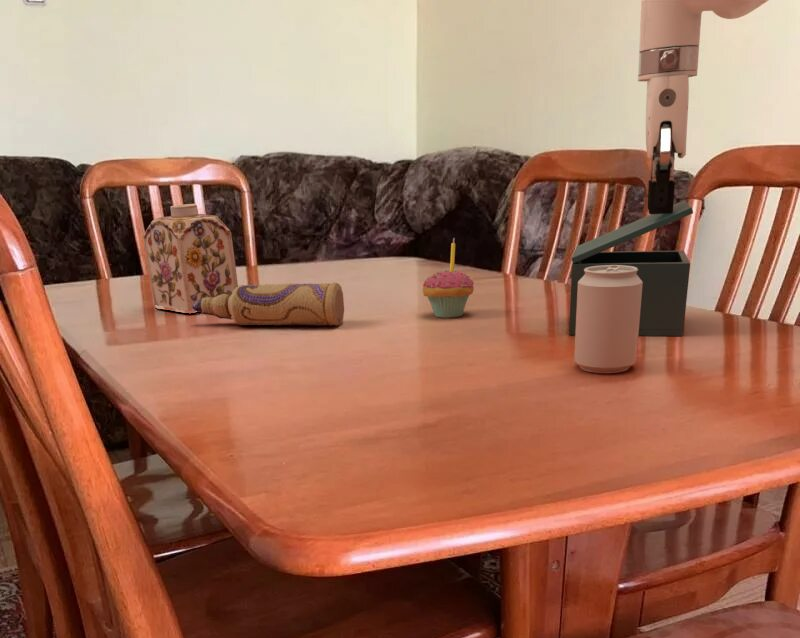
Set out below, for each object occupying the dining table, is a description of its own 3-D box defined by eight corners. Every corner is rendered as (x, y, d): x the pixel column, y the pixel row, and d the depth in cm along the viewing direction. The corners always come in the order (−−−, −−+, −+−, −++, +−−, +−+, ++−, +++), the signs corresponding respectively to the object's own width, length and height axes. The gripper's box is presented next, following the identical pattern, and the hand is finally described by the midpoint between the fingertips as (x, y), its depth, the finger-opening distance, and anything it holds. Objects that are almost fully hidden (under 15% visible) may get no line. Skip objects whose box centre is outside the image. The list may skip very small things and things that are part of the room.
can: (563, 370, 102) (568, 269, 97) (588, 357, 107) (593, 261, 102) (622, 377, 98) (630, 272, 93) (644, 363, 103) (653, 264, 98)
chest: (677, 317, 128) (684, 250, 124) (682, 336, 116) (690, 263, 112) (573, 316, 132) (576, 252, 128) (568, 335, 120) (571, 264, 116)
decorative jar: (242, 305, 155) (229, 202, 147) (190, 315, 147) (174, 207, 140) (204, 300, 162) (190, 201, 155) (152, 309, 155) (135, 206, 147)
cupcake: (438, 309, 143) (437, 236, 138) (483, 312, 139) (483, 236, 134) (414, 318, 136) (411, 241, 131) (460, 321, 132) (459, 243, 127)
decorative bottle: (348, 320, 137) (346, 279, 134) (334, 330, 130) (331, 287, 127) (206, 319, 143) (200, 279, 140) (186, 329, 136) (180, 287, 133)
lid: (686, 205, 121) (675, 169, 120) (693, 213, 109) (681, 173, 108) (577, 251, 128) (566, 218, 126) (573, 263, 116) (560, 226, 114)
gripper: (703, 57, 101) (691, 215, 108) (693, 68, 116) (684, 205, 123) (639, 64, 102) (632, 218, 110) (637, 73, 117) (631, 208, 125)
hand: (659, 210), depth 116 cm, fingers closed on lid, 6 cm apart
